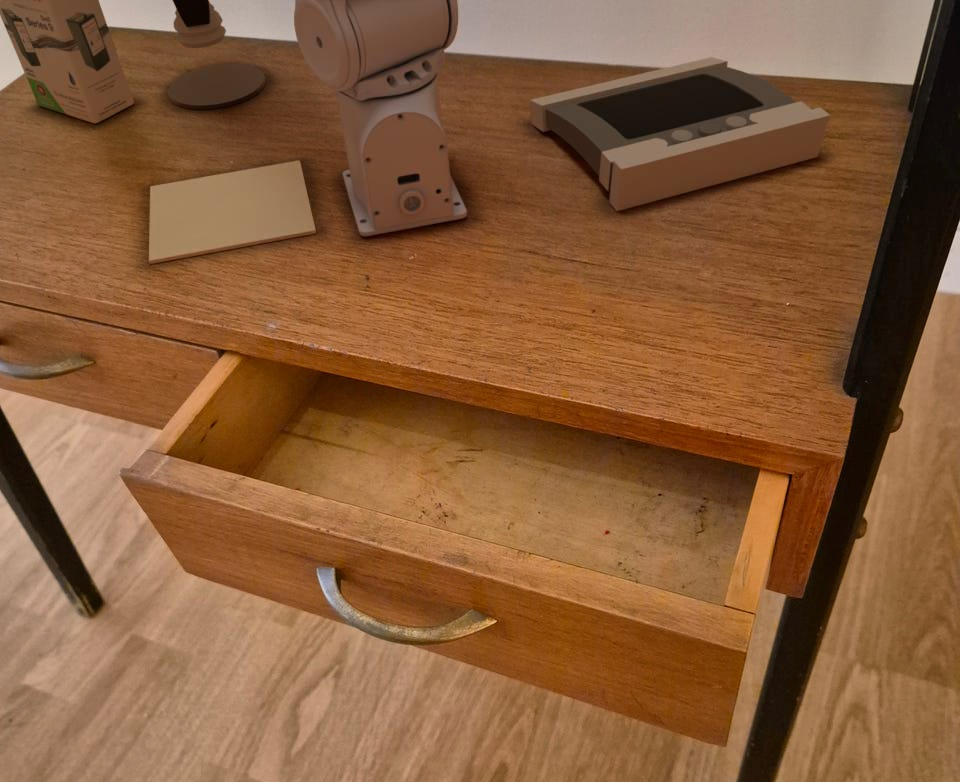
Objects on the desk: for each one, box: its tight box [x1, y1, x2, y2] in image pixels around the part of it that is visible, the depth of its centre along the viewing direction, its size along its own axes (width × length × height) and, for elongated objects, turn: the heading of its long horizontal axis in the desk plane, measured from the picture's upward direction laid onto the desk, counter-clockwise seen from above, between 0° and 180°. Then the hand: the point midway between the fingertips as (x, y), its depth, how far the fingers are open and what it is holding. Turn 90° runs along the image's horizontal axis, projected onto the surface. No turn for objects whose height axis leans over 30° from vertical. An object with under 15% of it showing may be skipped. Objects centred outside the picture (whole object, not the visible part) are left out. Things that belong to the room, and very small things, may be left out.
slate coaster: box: [167, 63, 266, 111], centre depth 82 cm, size 9×9×1 cm
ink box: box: [0, 0, 135, 124], centre depth 77 cm, size 9×5×12 cm, turn 56°
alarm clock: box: [529, 56, 831, 212], centre depth 69 cm, size 17×5×16 cm
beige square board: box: [148, 160, 317, 265], centre depth 67 cm, size 11×12×1 cm
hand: (197, 16), depth 77 cm, fingers closed on rook chess piece, 3 cm apart
